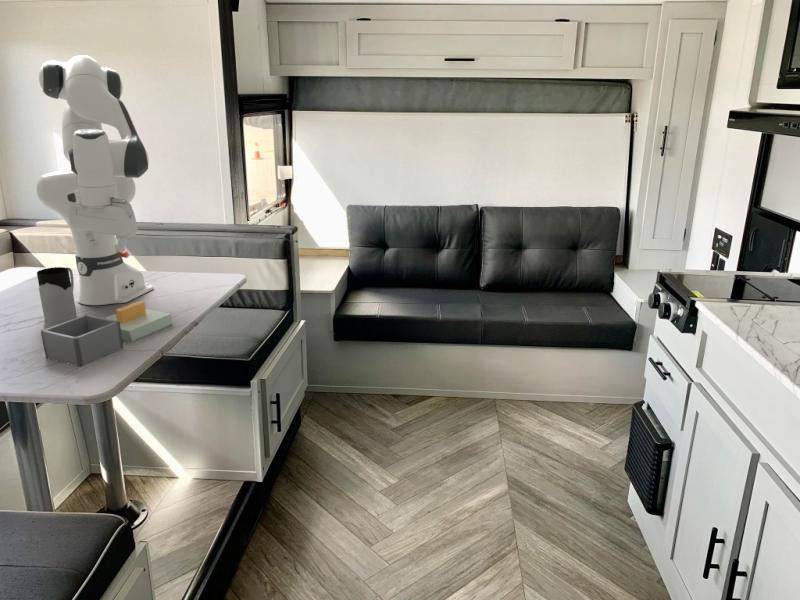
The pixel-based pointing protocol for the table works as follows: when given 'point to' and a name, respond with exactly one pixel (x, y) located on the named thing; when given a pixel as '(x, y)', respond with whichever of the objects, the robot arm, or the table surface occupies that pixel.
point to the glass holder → (56, 295)
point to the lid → (139, 320)
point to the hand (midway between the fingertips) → (106, 249)
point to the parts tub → (82, 339)
